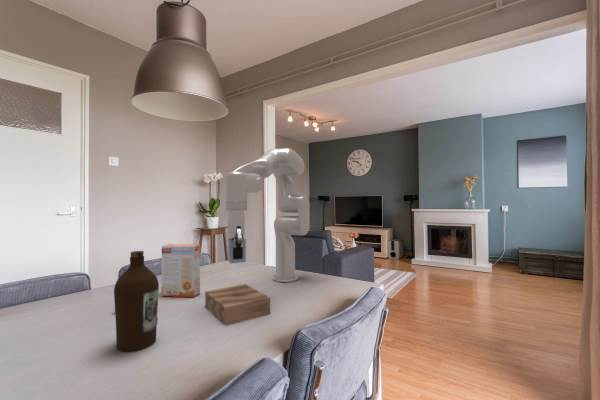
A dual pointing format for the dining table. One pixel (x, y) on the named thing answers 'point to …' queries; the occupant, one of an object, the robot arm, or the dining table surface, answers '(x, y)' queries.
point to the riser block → (237, 303)
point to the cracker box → (181, 270)
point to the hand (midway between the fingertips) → (236, 256)
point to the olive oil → (136, 306)
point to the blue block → (230, 251)
